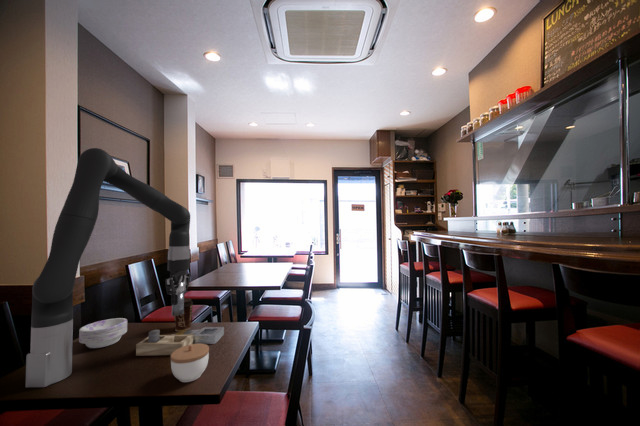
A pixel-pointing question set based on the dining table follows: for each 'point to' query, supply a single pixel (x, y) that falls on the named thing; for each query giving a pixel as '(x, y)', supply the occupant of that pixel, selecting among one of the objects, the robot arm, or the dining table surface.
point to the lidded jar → (189, 362)
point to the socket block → (208, 335)
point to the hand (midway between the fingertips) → (177, 302)
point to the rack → (162, 343)
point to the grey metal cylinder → (179, 302)
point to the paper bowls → (103, 332)
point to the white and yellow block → (187, 332)
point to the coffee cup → (184, 316)
